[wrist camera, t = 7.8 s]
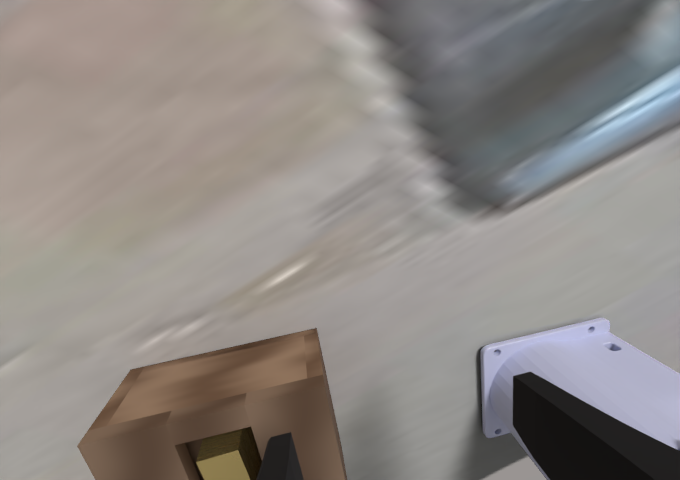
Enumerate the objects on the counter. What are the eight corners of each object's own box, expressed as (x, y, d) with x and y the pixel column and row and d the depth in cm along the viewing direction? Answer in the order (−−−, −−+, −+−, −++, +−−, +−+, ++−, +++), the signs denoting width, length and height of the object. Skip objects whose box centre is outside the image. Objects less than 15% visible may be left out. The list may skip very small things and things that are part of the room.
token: (249, 383, 20) (238, 450, 15) (271, 443, 21) (266, 519, 17) (216, 392, 20) (195, 462, 15) (241, 452, 21) (228, 531, 17)
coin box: (316, 328, 20) (325, 386, 15) (341, 448, 23) (355, 528, 18) (130, 369, 19) (76, 446, 14) (183, 490, 22) (153, 586, 17)
